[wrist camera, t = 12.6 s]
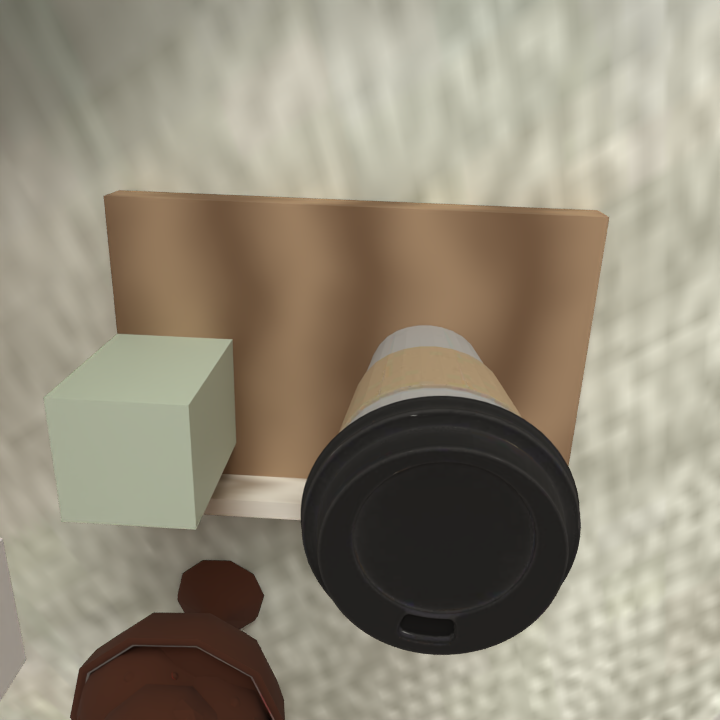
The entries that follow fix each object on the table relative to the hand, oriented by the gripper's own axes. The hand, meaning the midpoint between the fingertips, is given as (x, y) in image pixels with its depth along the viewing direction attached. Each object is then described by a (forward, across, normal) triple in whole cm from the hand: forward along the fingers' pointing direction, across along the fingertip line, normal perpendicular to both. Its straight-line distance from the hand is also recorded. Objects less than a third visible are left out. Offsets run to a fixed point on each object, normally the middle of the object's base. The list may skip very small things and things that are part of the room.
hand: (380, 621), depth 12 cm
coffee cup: (+24, +2, -6) cm, 24 cm away
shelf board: (+25, -2, -5) cm, 26 cm away
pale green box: (+24, -11, -7) cm, 27 cm away
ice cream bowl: (+25, -9, -22) cm, 35 cm away
